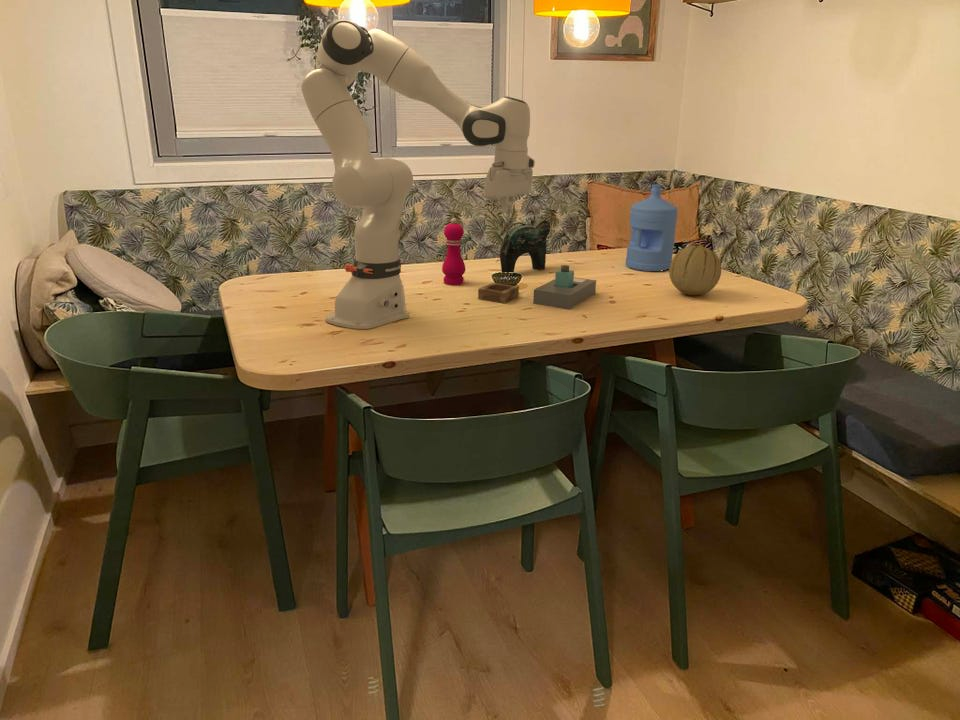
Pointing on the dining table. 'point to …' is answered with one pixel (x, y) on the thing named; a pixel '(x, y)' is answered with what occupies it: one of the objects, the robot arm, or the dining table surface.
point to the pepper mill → (453, 254)
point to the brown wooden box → (498, 292)
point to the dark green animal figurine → (525, 244)
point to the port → (564, 293)
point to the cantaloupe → (695, 270)
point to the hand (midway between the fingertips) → (506, 212)
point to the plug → (564, 277)
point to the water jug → (652, 233)
